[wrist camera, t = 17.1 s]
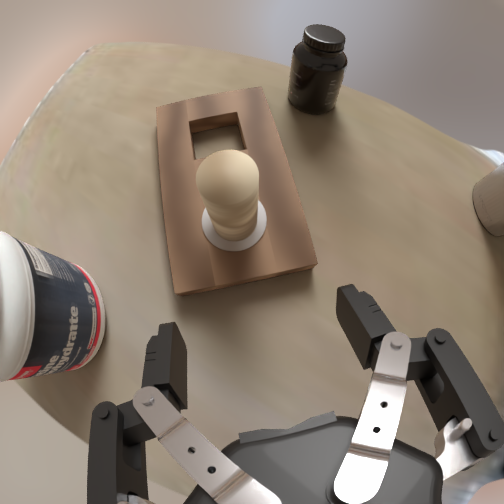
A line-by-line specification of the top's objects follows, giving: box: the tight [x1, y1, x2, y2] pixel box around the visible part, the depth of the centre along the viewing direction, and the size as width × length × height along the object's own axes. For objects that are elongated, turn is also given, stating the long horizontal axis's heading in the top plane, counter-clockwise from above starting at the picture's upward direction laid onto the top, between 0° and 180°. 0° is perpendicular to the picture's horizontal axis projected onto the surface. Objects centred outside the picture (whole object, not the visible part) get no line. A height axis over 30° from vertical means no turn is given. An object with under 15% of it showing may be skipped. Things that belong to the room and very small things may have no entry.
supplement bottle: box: [288, 24, 347, 114], centre depth 30 cm, size 7×7×12 cm
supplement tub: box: [0, 231, 105, 382], centre depth 19 cm, size 13×13×18 cm
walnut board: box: [156, 87, 318, 296], centre depth 31 cm, size 14×24×3 cm, turn 12°
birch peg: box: [196, 150, 259, 241], centre depth 24 cm, size 4×4×9 cm
